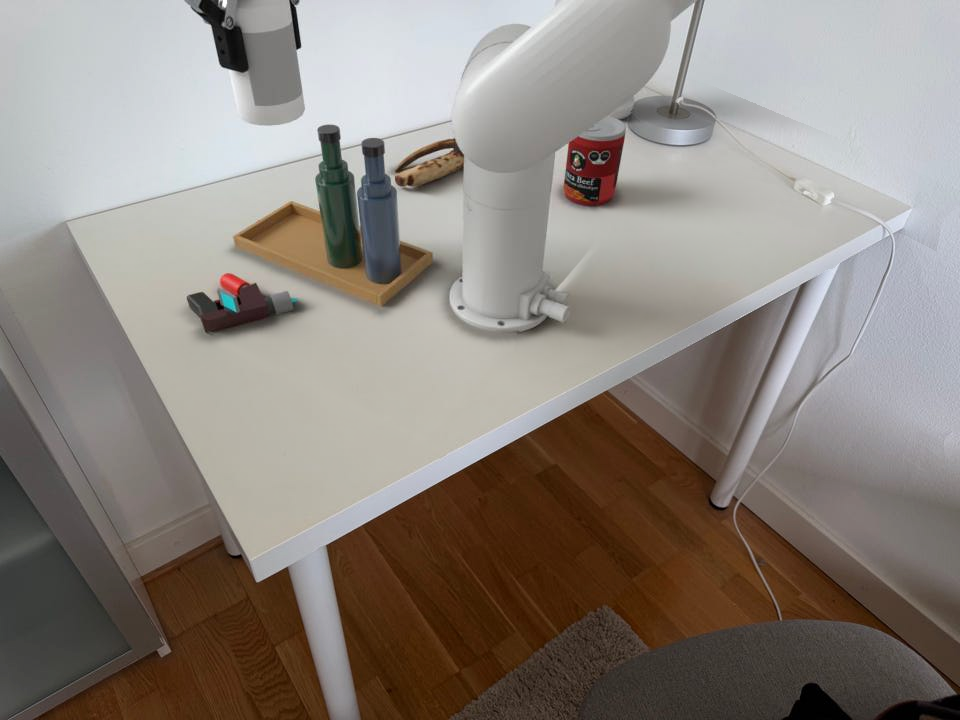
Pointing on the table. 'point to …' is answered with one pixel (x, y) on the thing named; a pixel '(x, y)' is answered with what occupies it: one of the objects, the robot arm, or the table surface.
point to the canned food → (594, 163)
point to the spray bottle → (267, 64)
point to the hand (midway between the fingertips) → (262, 56)
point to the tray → (322, 253)
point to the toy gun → (237, 304)
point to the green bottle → (337, 202)
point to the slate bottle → (378, 217)
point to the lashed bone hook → (430, 164)
